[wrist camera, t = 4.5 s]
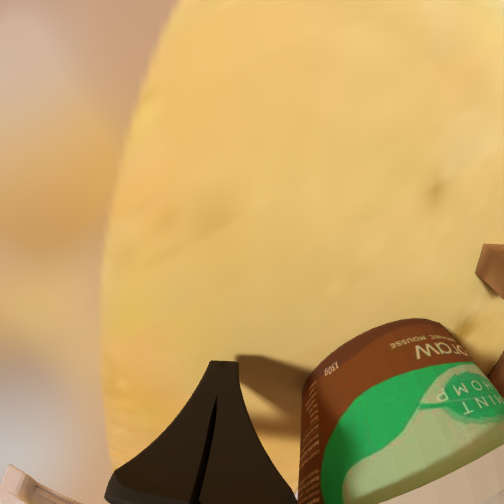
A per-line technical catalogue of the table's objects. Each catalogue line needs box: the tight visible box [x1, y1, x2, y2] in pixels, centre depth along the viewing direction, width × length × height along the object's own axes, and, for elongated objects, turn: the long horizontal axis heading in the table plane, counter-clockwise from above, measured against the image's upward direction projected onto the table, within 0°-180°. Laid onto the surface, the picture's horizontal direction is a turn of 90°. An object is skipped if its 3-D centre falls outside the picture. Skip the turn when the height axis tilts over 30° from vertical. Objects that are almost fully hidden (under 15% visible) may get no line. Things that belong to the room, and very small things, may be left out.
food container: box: [297, 319, 504, 504], centre depth 8 cm, size 12×6×10 cm, turn 87°
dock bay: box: [475, 244, 504, 399], centre depth 11 cm, size 12×8×3 cm
